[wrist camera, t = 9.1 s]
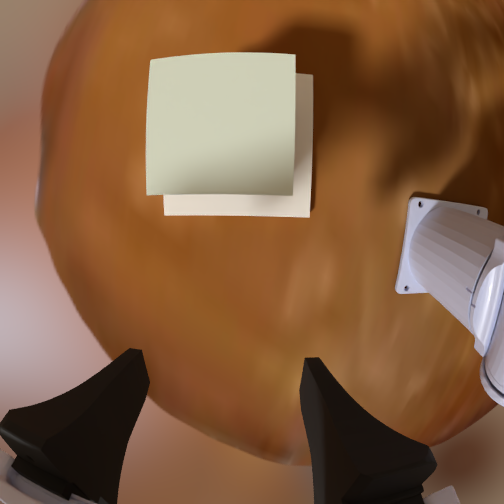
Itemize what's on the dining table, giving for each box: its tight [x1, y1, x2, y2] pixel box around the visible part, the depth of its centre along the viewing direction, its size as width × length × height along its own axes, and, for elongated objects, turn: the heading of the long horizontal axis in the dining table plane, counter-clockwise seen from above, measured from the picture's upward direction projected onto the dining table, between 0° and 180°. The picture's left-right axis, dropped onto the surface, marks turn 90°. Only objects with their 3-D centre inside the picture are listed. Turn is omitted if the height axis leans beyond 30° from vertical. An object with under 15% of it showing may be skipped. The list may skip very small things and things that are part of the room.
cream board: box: [164, 73, 313, 217], centre depth 18 cm, size 10×10×1 cm
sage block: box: [146, 52, 295, 196], centre depth 11 cm, size 5×5×4 cm
